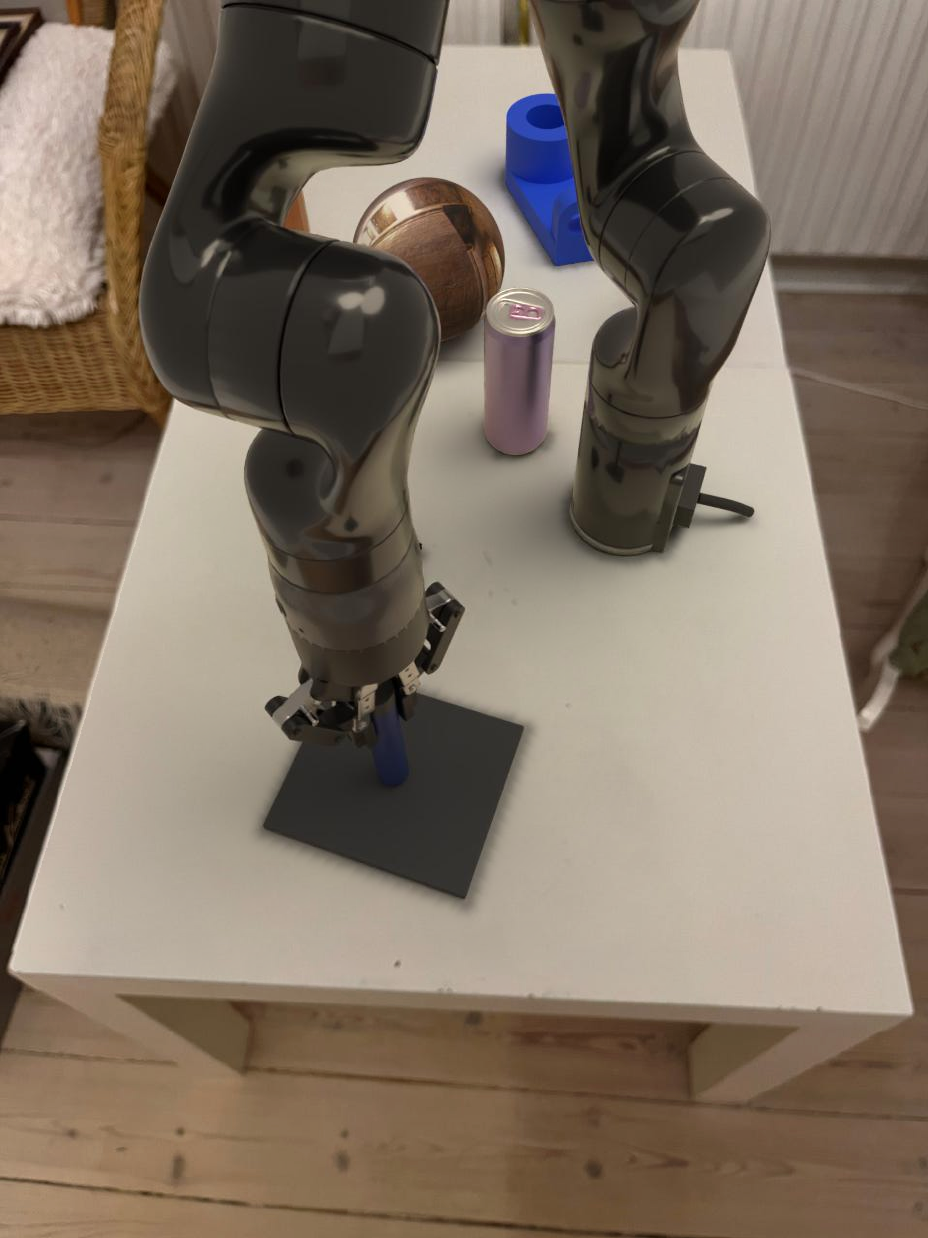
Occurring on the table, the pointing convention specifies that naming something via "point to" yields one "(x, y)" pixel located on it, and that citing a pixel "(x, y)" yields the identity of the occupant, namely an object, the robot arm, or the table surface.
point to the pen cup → (298, 215)
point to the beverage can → (517, 369)
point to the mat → (405, 796)
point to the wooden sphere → (440, 245)
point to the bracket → (544, 176)
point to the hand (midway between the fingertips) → (382, 722)
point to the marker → (388, 737)
